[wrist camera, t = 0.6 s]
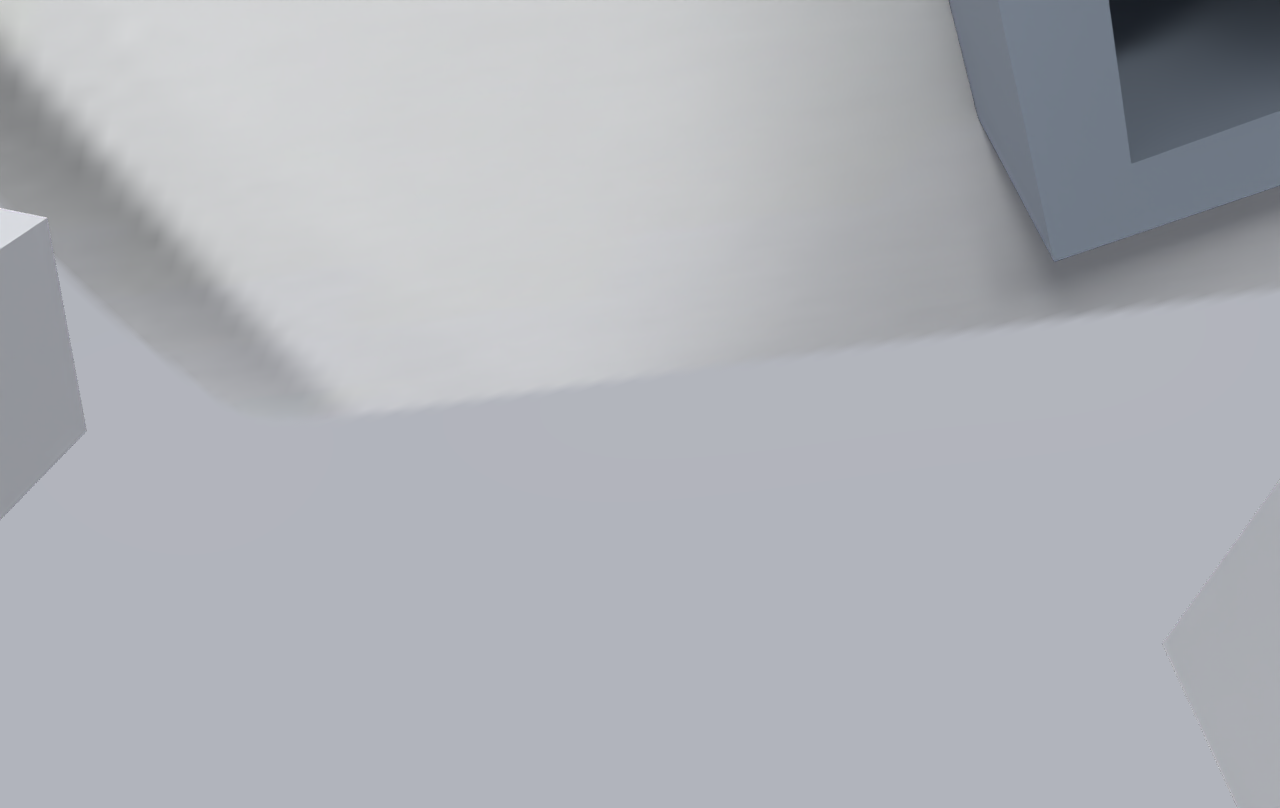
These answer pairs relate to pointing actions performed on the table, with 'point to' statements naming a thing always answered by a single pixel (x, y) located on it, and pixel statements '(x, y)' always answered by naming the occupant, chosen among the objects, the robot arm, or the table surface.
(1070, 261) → the table surface
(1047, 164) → the collar block
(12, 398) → the robot arm
